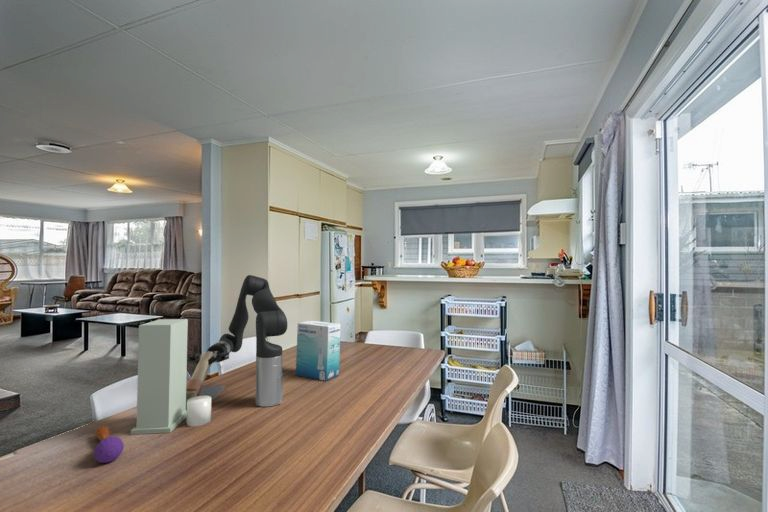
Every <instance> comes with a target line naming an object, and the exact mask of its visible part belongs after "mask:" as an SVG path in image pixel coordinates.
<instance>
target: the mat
mask: <svg viewBox="0 0 768 512" xmlns="http://www.w3.org/2000/svg"><path fill="white" fill-rule="evenodd" d="M202 386H203V385H202ZM225 388H226V385H208V386H207V385H206V386H203V388H202V390H201V393H200V395H199V396H210V397H211V403H212V402H213V401H214V400H215V399H216V398H217V397H218V395H220V394H221V392H222V391H223V390H225ZM187 400H189V399H186V410H187Z"/></svg>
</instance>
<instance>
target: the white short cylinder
mask: <svg viewBox="0 0 768 512" xmlns="http://www.w3.org/2000/svg"><path fill="white" fill-rule="evenodd" d="M211 421H212V402H211V397H210V396H197V397H193V398H190V399H189V400H187V417H186V424H185V425H186V426H188V427H201V426H205V425H207V424H208V423H210V422H211Z"/></svg>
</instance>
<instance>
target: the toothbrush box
mask: <svg viewBox="0 0 768 512" xmlns="http://www.w3.org/2000/svg"><path fill="white" fill-rule="evenodd" d="M341 327H342V325H341V323H336V322H329V321H328V322H327V321H320V320H319V321H318V320H306V321H301V322H297V329H296V331H297V332H296V333H297V335H296V356H295V357H296V360H295V361H296V362H295V363H296V364H295V375H296V376H299V377H304V378H308V377H309V378H310V379H313V378H314V380H318V379H319V380H320V381H323V380H324V381H323V382H327V380H328V381H329V380H332V379H333V377H334V378H336V377H338V376H337V375H339V376H340V356H341V355H340V353H341V350H340V349H341ZM335 376H336V377H335ZM319 380H318V381H319Z"/></svg>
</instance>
